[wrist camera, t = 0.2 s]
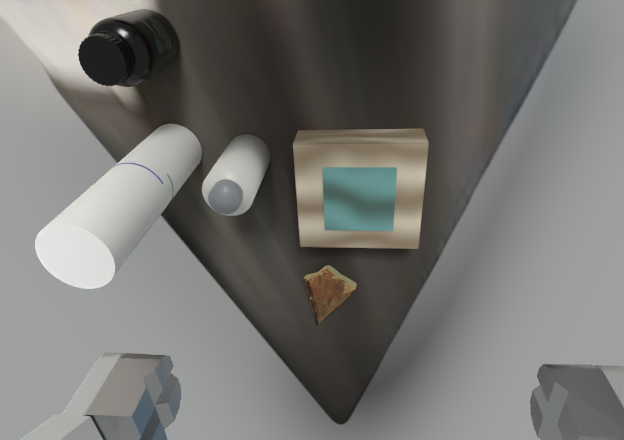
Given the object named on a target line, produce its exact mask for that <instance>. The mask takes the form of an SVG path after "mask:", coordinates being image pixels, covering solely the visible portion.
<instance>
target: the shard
mask: <svg viewBox="0 0 624 440" xmlns="http://www.w3.org/2000/svg"><path fill="white" fill-rule="evenodd" d="M304 280H305V284H306V288H307V291H308V296H309V300H310V304H311V307H312V310H313V313H314V315H315V321H316V324H317V325H318V324H319V323H320V322H321V321H322V320H324V318H325V317H326V316H327V315H328V314H330V313H331V312H332V311H334V310H335V309H336V308H337V307H338V306H339V305H341V304H342V303H343V301H344V300H346V299H347V298H348V297H349V296H350V294H351V293H352V292H353V291H354V290H355V289H356V286H357V284H356V283H355V282H354V281H352V280H350V279H349V278H347V277H345V276H343V275H342V274H340V273H339V272H338V271H337V270H335V269H334V268H332V267H331V266H330V265H327V266H324V267H323V268H322V269H321V270H320V271H319V272H316V273H312V274H308V275H306V276H305V277H304Z"/></svg>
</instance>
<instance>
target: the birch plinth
mask: <svg viewBox="0 0 624 440" xmlns="http://www.w3.org/2000/svg"><path fill="white" fill-rule="evenodd" d="M428 146H429V143H428V140H427V137H426V134H425V131H424V129H355V130H298V131H297V134H296V137H295V140H294V143H293V153H294V167H295V180H296V194H297V208H298V222H299V236H300V247H344V248H402V249H418V246H419V236H420V226H421V216H422V206H423V196H424V186H425V176H426V166H427V156H428Z"/></svg>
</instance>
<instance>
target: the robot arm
mask: <svg viewBox="0 0 624 440" xmlns="http://www.w3.org/2000/svg"><path fill="white" fill-rule="evenodd" d="M172 368H173V364H172V361H171V358H170V356H166V355H149V354H130V353H104V354H103V355H101V356H100V357H99V358H98V359H97V360H96V362H95V364H94V365H93V366H92V368H91V370H90V371H89V373H88V374H87V376H86V377H85V379H84V380H83V382H82V383H81V385H80V386H79V388H78V389H77V391H76V392H75V394H74V396H73V397H72V399H71V400H70V402H69V403H68V405H67V406H66V408H65V409H64V411H63V412H62V414H61V415H53V416H52V417H51V418H50V419H48V420H46V421H45V422H44V423H42V424H41V425H39V426H38V427H37V428H35V429H34V430H32V431H31V432H30V433H28V434H27V435H25V436H24V437H23V438H21V439H19V440H167V436H166V433H165V430H164V429H165V428H166V427H168V426H169V425H170V424H171V423H172V422H173V421H174V420H175V418H176V415H177V413H178V410H179V406H180V400H181V388H180V383H179V380H178V378H176V377H175V376H174V375H173V374H171V370H172ZM537 377H538V380H539V382H540V385H539V386H538V387H537V388H535V389H534V390H533V392H532V396H531V401H530V402H531V416H532V421H533V425H534V428H535V431H536V434H537V437H539V438H540V439H541V440H624V367H623V366H602V365H595V366H593V365H567V364H565V365H564V364H543V365H542V366H541V367H540V368H539V371H538V375H537Z"/></svg>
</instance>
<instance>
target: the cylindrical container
mask: <svg viewBox="0 0 624 440" xmlns="http://www.w3.org/2000/svg"><path fill="white" fill-rule="evenodd" d="M201 156H202V149H201V145H200V143H199V141H198V139H197V138H196V136H195V135H194V134H193V133H192V132H191V131H190V130H188V129H187V128H185V127H183V126H180V125H177V124H165V125H162V126H160V127H159V128H157V129H156V130H155V131H154V132H153V133H152V134H150V135H149V136H148V137H147V138H146V139H145V140H144V141H142V142H141V143H140V144H139V145H138V146H137V147H136V148H134V149H133V150H132V151H131V152H130V153H129V154H128V155H126V156H125V157H124V158H123V159H122V160H121V161H120V162H118V163H117V164H116V165H115V166H114V167H113V168H112V169H111V170H110V171H108V172H107V173H106V174H105V175H104V176H103V177H101V178H100V179H99V180H98V181H97V182H96V183H95V184H93V185H92V186H91V187H90V188H89V189H88V190H87V191H85V193H83V194H82V195H81V196H80V197H79V198H78V199H76V200H75V201H74V202H73V203H72V204H71V205H69V206H68V207H67V208H66V209H65V210H64V211H63V212H62V213H60V214H59V215H58V216H57V217H56V218H55V219H54V220H52V221H51V222H50V223H49V224H48V225H47V226H46V227H45V228H43V229H42V230H41V231H40V232H39V234H38V235H37V237H36V241H35V249H36V253H37V256H38V258H39V259H40V261H41V263H42V264H43V266H44V267H45V268H46V269H47V270H48V271H49V272H50V273H51V274H52V275H53V276H55V277H56V278H57V279H59V280H61V281H63V282H64V283H67V284H69V285H71V286H75V287H79V288H85V289H93V288H99V287H102V286H104V285H106V284H107V283H108V282H110V280H111V279H112V278H113V277H114V275H115V274H116V273H117V271H118V270H119V269H120V267H121V266H122V265H123V263H124V262H125V260H126V259H127V258H128V257H129V255H130V254H131V253H132V251H133V250H134V249H135V247H136V246H137V245H138V243H139V242H140V241H141V240H142V238H143V237H144V235H145V234H146V233H147V232H148V230H149V229H150V228H151V226H152V225H153V224H154V222H155V221H156V220H157V218H158V217H159V216H160V215H161V213H162V212H163V211H164V209H165V208H166V207H167V205H168V204H169V203H170V201H171V200H172V199H173V197H174V196H175V195H176V193H177V192H178V191H179V189H180V188H181V187H182V185H183V184H184V183H185V181H186V180H187V179H188V177H189V176H190V175H191V173H192V172H193V171H194V169H195V168H196V167H197V165H198V164H199V163H200V160H201Z"/></svg>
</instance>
